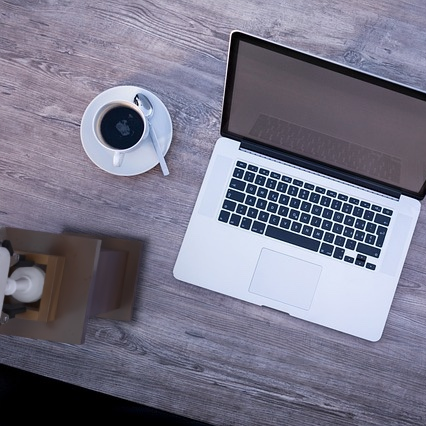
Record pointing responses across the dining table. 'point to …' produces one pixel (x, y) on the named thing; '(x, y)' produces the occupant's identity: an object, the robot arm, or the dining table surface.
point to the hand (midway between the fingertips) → (18, 284)
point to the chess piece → (26, 284)
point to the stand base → (115, 277)
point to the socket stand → (55, 286)
